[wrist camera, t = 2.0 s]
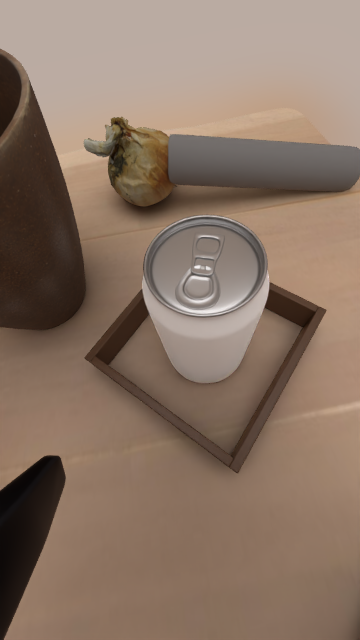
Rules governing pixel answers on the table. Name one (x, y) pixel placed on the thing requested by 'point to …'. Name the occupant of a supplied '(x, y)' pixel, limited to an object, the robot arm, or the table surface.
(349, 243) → the table surface
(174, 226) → the can
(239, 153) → the tv remote
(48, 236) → the flower pot
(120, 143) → the onion
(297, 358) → the square frame
